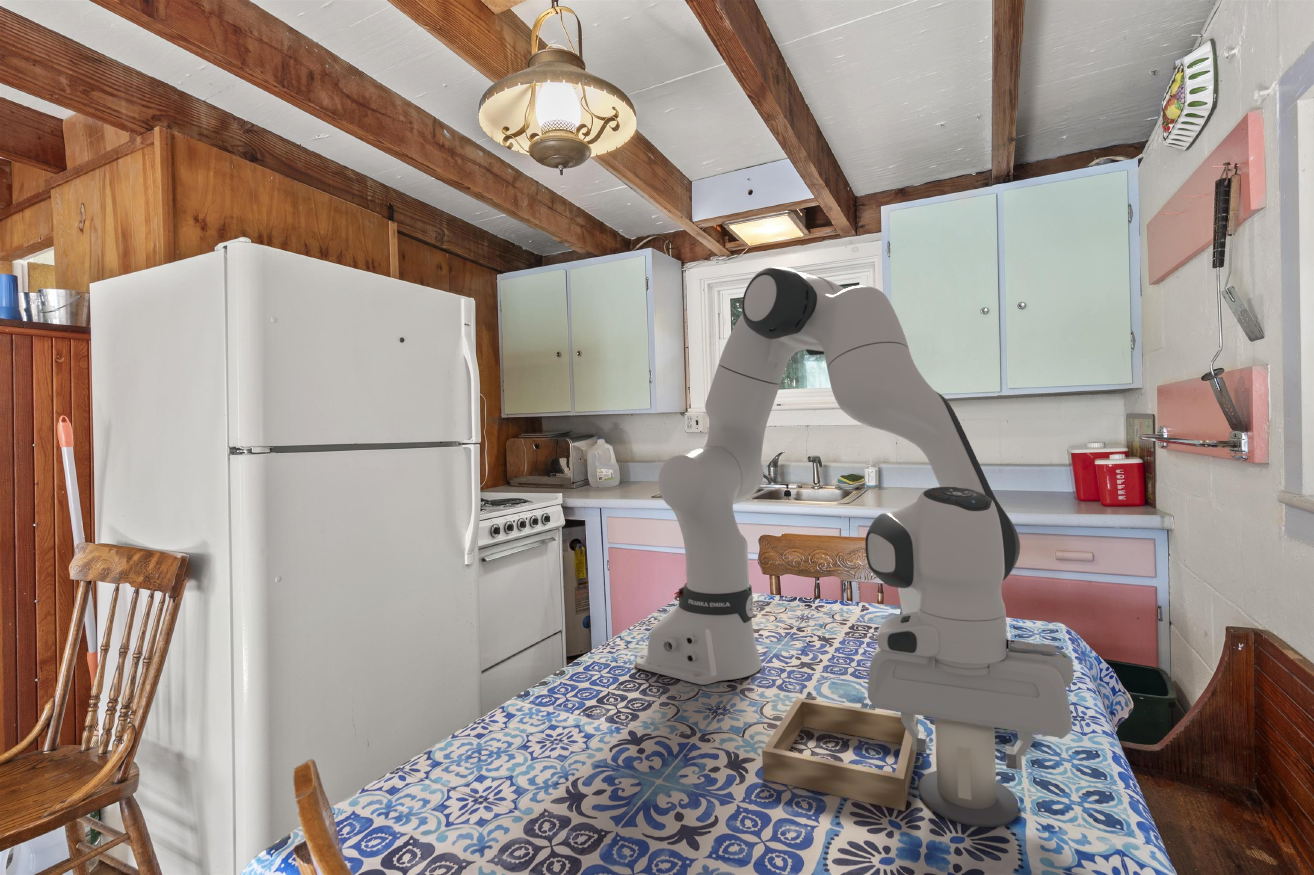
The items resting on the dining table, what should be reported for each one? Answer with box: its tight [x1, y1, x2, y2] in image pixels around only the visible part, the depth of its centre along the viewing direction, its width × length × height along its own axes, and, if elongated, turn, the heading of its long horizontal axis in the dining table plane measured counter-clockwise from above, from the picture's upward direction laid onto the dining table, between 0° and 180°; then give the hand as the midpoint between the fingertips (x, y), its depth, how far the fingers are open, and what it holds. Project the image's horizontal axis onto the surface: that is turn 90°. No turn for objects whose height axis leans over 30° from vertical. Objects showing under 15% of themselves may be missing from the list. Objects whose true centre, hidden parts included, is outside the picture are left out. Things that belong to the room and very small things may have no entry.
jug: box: [934, 718, 997, 809], centre depth 70 cm, size 9×6×8 cm
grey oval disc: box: [918, 770, 1019, 828], centre depth 71 cm, size 10×10×1 cm
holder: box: [761, 697, 919, 812], centre depth 80 cm, size 16×16×4 cm
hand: (965, 758), depth 71 cm, fingers open, 8 cm apart
